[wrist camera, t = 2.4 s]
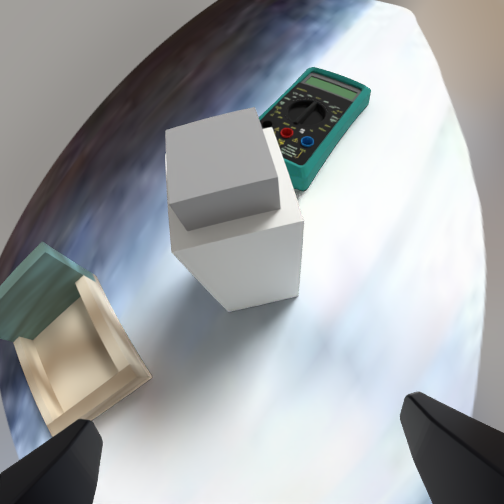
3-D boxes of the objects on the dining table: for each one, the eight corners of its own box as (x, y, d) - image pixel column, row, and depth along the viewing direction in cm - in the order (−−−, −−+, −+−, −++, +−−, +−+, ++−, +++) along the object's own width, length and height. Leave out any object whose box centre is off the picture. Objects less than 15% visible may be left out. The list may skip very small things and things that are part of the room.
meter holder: (152, 377, 20) (96, 374, 13) (71, 434, 19) (10, 440, 12) (96, 275, 24) (42, 241, 17) (28, 337, 22) (-28, 320, 16)
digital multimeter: (230, 165, 27) (223, 143, 24) (310, 81, 30) (310, 61, 28) (301, 201, 25) (301, 180, 22) (370, 104, 28) (374, 84, 25)
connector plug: (298, 296, 21) (305, 189, 9) (228, 312, 21) (149, 228, 9) (281, 232, 23) (268, 93, 11) (217, 248, 23) (149, 124, 11)
